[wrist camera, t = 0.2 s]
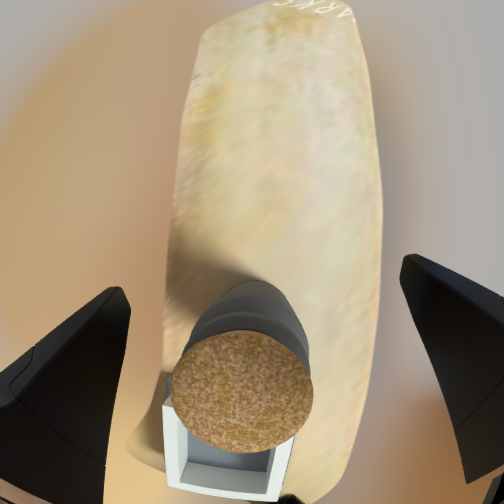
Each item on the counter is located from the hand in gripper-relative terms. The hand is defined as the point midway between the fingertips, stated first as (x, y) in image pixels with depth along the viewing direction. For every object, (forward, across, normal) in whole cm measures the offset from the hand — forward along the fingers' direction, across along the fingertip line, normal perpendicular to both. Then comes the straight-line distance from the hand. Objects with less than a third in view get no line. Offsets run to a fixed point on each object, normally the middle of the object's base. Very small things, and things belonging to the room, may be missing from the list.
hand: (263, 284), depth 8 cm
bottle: (+11, +1, +11) cm, 16 cm away
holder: (+4, +5, +21) cm, 22 cm away
